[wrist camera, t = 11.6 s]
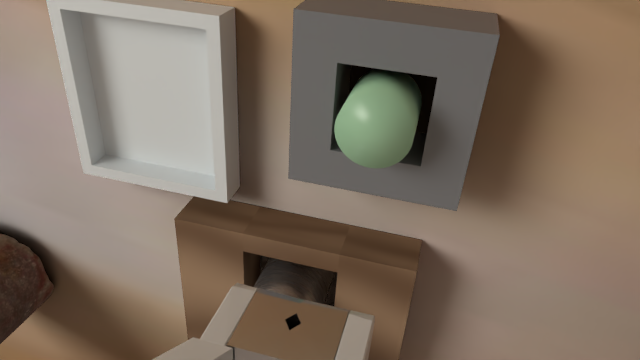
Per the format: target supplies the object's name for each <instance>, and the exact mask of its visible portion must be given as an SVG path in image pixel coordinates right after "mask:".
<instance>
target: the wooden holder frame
mask: <svg viewBox="0 0 640 360" xmlns="http://www.w3.org/2000/svg"><path fill="white" fill-rule="evenodd" d="M175 227H176V236H177V245H178V254H179V263H180V272H181V280H182V289H183V298H184V307H185V316H186V325H187V334H188V340H189V339H191V338H193V337H194V338H198V339H200V338H201V336H202V334H203V333H204V331H205V329H206V328H207V326H208V325H209V323H210V321H211V320H212V318H213V316H214V315H215V313H216V312H217V310H218V308H219V307H220V305H221V303H222V302H223V300H224V298H225V297H226V295H227V294H228V292H229V290H230V289H231V287H232V286H234V285H235V284H236V283H240V284H244V285H248V286H251V287H254V285H255V283H256V282H257V280H258V278H259V276H260V255H262V256H266V257H271V258H275V259H280V260H284V261H288V262H293V263H297V264H302V265H306V266H311V267H315V268H320V269H324V270H328V271H333V272H337V273H338V274H337V284H336V294H335V303H334V307H339V308H343V309H347V310H350V311H351V310H352V311H356V312H360V313H365V314H369V315H374V316H375V322H374V328H373V334H372V340H371V346H370V352H369V357H368V360H399V355H400V350H401V346H402V341H403V336H404V331H405V327H406V322H407V317H408V312H409V308H410V303H411V298H412V293H413V289H414V284H415V279H416V274H417V269H418V263H419V256H420V250H421V243H422V240H420V239H415V238H410V237H405V236H400V235H395V234H391V233H386V232H381V231H376V230H371V229H366V228H362V227H357V226H352V225H347V224H342V223H337V222H332V221H328V220H323V219H318V218H313V217H308V216H303V215H298V214H294V213H289V212H284V211H279V210H274V209H269V208H265V207H260V206H255V205H250V204H245V203H240V202H235V201H231V200H229V202H228V203H224V202H219V201H214V200H210V199H205V198H200V197H195V196H194V197H193V198H192V199H191V201H190V202H189V203H188V204H187V205H186V206H185V207H184V209H183V210H182V211H181V212H180V213H179V214H178V215H177V217H176V218H175Z"/></svg>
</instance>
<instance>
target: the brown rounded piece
mask: <svg viewBox="0 0 640 360" xmlns="http://www.w3.org/2000/svg"><path fill="white" fill-rule="evenodd" d="M53 288H54V286H53V284H52V282H51V281H49V278H48V276H47V274H46V272H45V270H44V267H43V265H42V262H41V260H40V258H39V257H38V256H37V255H36V254H35V253H33V252H32V251H31V249H30V248H29V247H27V246H25V245H24V244H21V243H18V242H17V240H16V239H14V238H12V237H9V236H7V235H4V234H1V233H0V344H1V343H2V342H3V341H4V340H5V339H6V338H7V337H8V336H9V335H10V334H11V333H12V332H14V331H15V330H16V329H17V328H18V327H19V326H20V325H21V324H22V323H23V322H24V321H25V320H26V319H27V318H28V317H29V316H30V315H31V314H32V313H33V312H34V311H35V310H36V309H38V308H39V307H40V306H41V305H42V304H43V303H44V302H45V301H46V300H47V299H48V298H49V297H50V296H51V294H52V292H53Z"/></svg>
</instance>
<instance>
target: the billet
mask: <svg viewBox="0 0 640 360" xmlns="http://www.w3.org/2000/svg"><path fill="white" fill-rule="evenodd" d="M333 275H334V272H333V271H328V270H324V269H320V268H315V267H311V266H306V265H302V264H297V263H293V262H288V261H284V260H280V259H275V258H271V257H270V258H269V259H268V261H267V263H266V265H265V267H264V269H263V271H262V272H261V274H260V276H259V278H258V280H257V282H256V283H255V285H254V287H255V288H261V289H265V290H268V291H272V292H276V293H280V294H283V295H287V296H291V297H295V298H298V299H302V300H308V301H312V302H317V303H321V304H324V301H325V298H326V296H327V293H328V290H329V287H330V284H331V282H332V279H333Z"/></svg>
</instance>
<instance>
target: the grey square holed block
mask: <svg viewBox="0 0 640 360" xmlns="http://www.w3.org/2000/svg"><path fill="white" fill-rule="evenodd" d="M499 36H500V33H499V25H498V17H497V14H495V13H486V12H478V11H470V10H461V9H453V8H445V7H436V6H428V5H420V4H411V3H403V2H395V1H386V0H305V1H304V2H302V3H301V4H300V5H298V6H297V7H296V8H294V14H293V47H292V79H291V112H290V144H289V177H288V179H293V180H299V181H304V182H309V183H314V184H319V185H324V186H330V187H335V188H340V189H345V190H350V191H356V192H361V193H366V194H371V195H376V196H381V197H387V198H392V199H397V200H402V201H407V202H412V203H418V204H423V205H428V206H433V207H438V208H444V209H449V210H454V211H457V208H458V204H459V200H460V196H461V192H462V187H463V183H464V179H465V175H466V171H467V167H468V163H469V159H470V155H471V151H472V147H473V142H474V138H475V134H476V130H477V126H478V122H479V118H480V114H481V110H482V106H483V102H484V97H485V93H486V89H487V85H488V81H489V77H490V73H491V69H492V65H493V61H494V57H495V52H496V48H497V44H498V40H499ZM352 65H356V66H363V67H369V68H376V69H383V70H390V71H397V72H404V73H411V74H417V75H424V76H431V77H437V83H436V88H435V93H434V99H433V104H432V109H431V115H430V120H429V125H428V131H427V133H422V132H415V136H414V140H413V144H412V147H411V149H410V151H409V152H408V154H407V155H406V156H405V157H404V158H403V159H402V160H401V161H400V162H398V163H396V164H394V165H392V166H389V167H386V168H368V167H364V166H361V165H359V164H357V163H355V162H353V161H352V160H350V159H349V158H348V157H347V156H346V155H345V154H344V153H343V152H342V151H341V149H340V148H339V146H338V144H337V141H336V138H335V132H334V126H335V121H336V118H337V116H338V113H339V112H340V110H341V108H342V107H343V105H344V103H345V101H346V100H347V98H348V96H349V87H350V77H351V66H352Z"/></svg>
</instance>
